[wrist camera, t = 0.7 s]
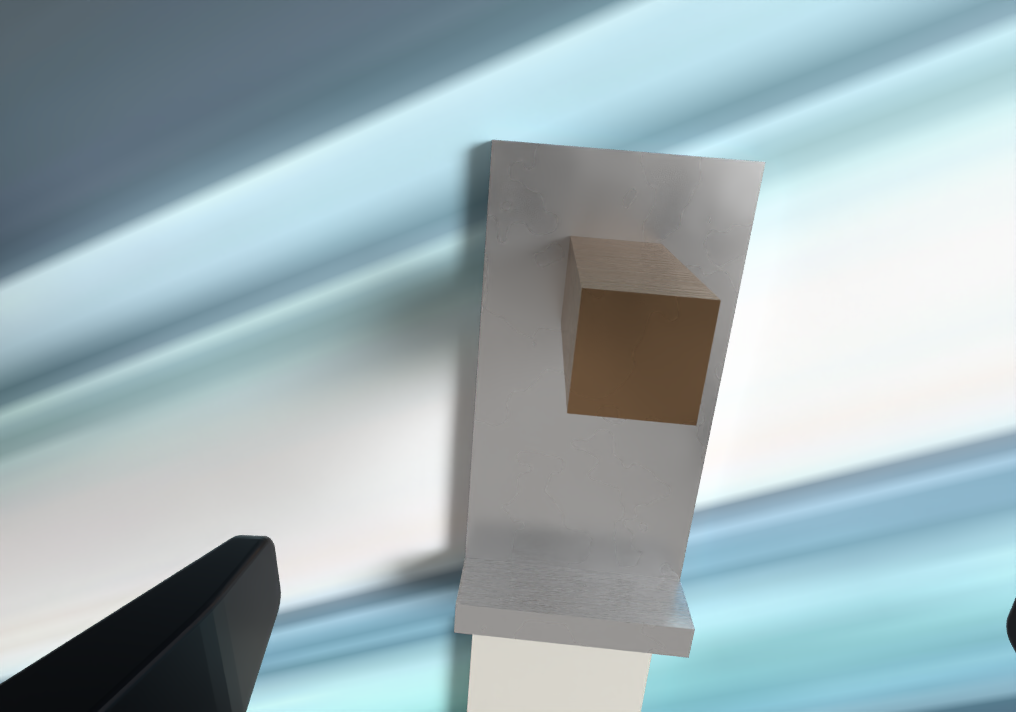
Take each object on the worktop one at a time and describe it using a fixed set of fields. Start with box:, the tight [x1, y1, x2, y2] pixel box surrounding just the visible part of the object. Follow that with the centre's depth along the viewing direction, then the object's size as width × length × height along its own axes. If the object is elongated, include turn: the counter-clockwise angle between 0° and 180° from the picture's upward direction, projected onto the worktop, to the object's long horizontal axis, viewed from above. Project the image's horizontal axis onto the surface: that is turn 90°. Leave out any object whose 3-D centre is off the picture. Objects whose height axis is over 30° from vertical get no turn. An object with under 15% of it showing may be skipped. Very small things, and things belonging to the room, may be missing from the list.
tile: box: [467, 635, 652, 712], centre depth 26 cm, size 7×7×2 cm
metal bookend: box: [454, 140, 765, 658], centre depth 18 cm, size 16×8×8 cm, turn 176°
